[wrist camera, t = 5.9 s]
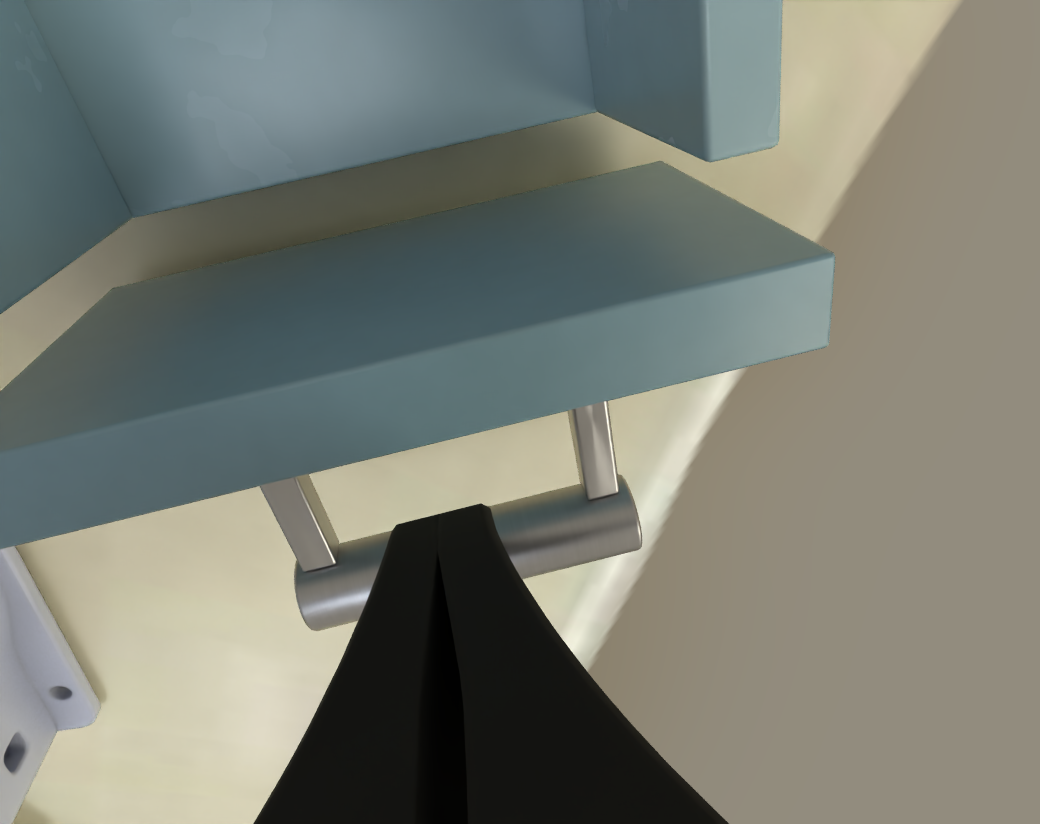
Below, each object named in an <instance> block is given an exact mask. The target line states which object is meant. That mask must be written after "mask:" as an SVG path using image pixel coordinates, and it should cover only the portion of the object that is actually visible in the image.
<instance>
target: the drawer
mask: <svg viewBox="0 0 1040 824" xmlns="http://www.w3.org/2000/svg"><path fill="white" fill-rule="evenodd" d="M781 39H782V0H0V314H1V313H3V312H4V311H6V310H7V309H8V308H10V307H11V306H12V305H14V304H15V303H17V302H18V301H19V300H21V299H22V298H23V297H25V296H26V295H28V294H29V293H30V292H32V291H33V290H34V289H36V288H37V287H39V286H40V285H41V284H43V283H44V282H45V281H47V280H48V279H50V278H51V277H52V276H54V275H55V274H57V273H58V272H59V271H61V270H62V269H63V268H65V267H66V266H68V265H69V264H70V263H72V262H73V261H74V260H76V259H77V258H79V257H80V256H81V255H83V254H84V253H85V252H87V251H88V250H90V249H91V248H92V247H94V246H95V245H96V244H98V243H99V242H101V241H102V240H103V239H105V238H106V237H107V236H109V235H110V234H112V233H113V232H114V231H116V230H117V229H118V228H120V227H121V226H123V225H124V224H125V223H127V222H128V221H129V220H131V219H132V218H136V217H140V216H145V215H149V214H154V213H158V212H162V211H167V210H171V209H175V208H180V207H184V206H188V205H193V204H197V203H202V202H206V201H210V200H215V199H219V198H223V197H228V196H232V195H237V194H241V193H245V192H250V191H254V190H258V189H263V188H267V187H272V186H276V185H280V184H285V183H289V182H293V181H298V180H302V179H307V178H311V177H315V176H320V175H324V174H328V173H333V172H337V171H342V170H346V169H350V168H355V167H359V166H363V165H368V164H372V163H376V162H381V161H385V160H390V159H394V158H398V157H403V156H407V155H411V154H416V153H420V152H425V151H429V150H433V149H438V148H442V147H446V146H451V145H455V144H460V143H464V142H468V141H473V140H477V139H481V138H486V137H490V136H495V135H499V134H503V133H508V132H512V131H516V130H521V129H525V128H530V127H534V126H538V125H543V124H547V123H551V122H556V121H560V120H564V119H569V118H573V117H578V116H582V115H586V114H591V113H595V112H599V113H601V114H603V115H605V116H608V117H610V118H612V119H614V120H616V121H619V122H621V123H623V124H625V125H627V126H630V127H632V128H634V129H636V130H638V131H641V132H643V133H645V134H647V135H649V136H651V137H654V138H656V139H658V140H660V141H662V142H665V143H667V144H669V145H671V146H673V147H676V148H678V149H680V150H682V151H684V152H687V153H689V154H691V155H693V156H695V157H698V158H700V159H702V160H704V161H707V162H714V161H718V160H723V159H727V158H731V157H736V156H740V155H744V154H748V153H753V152H757V151H761V150H766V149H770V148H772V147H774V146H776V145H778V142H779V123H780V81H781ZM834 268H835V255H834V253H833V252H832V251H830V250H828V249H826V248H824V247H822V246H820V245H819V244H817V243H815V242H813V241H811V240H809V239H807V238H805V237H804V236H802V235H800V234H798V233H796V232H794V231H792V230H790V229H789V228H787V227H785V226H783V225H781V224H779V223H777V222H775V221H773V220H772V219H770V218H768V217H766V216H764V215H762V214H760V213H758V212H757V211H755V210H753V209H751V208H749V207H747V206H745V205H743V204H741V203H740V202H738V201H736V200H734V199H732V198H730V197H728V196H726V195H725V194H723V193H721V192H719V191H717V190H715V189H713V188H711V187H710V186H708V185H706V184H704V183H702V182H700V181H698V180H696V179H694V178H693V177H691V176H689V175H687V174H685V173H683V172H681V171H679V170H678V169H676V168H674V167H672V166H670V165H668V164H666V163H664V162H662V161H658V162H654V163H650V164H645V165H641V166H637V167H632V168H628V169H624V170H619V171H615V172H611V173H606V174H602V175H598V176H594V177H589V178H585V179H581V180H576V181H572V182H568V183H563V184H559V185H555V186H550V187H546V188H542V189H538V190H533V191H529V192H525V193H520V194H516V195H512V196H507V197H503V198H499V199H494V200H490V201H486V202H482V203H477V204H473V205H469V206H464V207H460V208H456V209H451V210H447V211H443V212H439V213H434V214H430V215H426V216H421V217H417V218H413V219H408V220H404V221H400V222H395V223H391V224H387V225H383V226H378V227H374V228H370V229H365V230H361V231H357V232H352V233H348V234H344V235H339V236H335V237H331V238H327V239H322V240H318V241H314V242H309V243H305V244H301V245H296V246H292V247H288V248H283V249H279V250H275V251H271V252H266V253H262V254H258V255H253V256H249V257H245V258H240V259H236V260H232V261H227V262H223V263H219V264H215V265H210V266H206V267H202V268H197V269H193V270H189V271H184V272H180V273H176V274H171V275H167V276H163V277H159V278H154V279H150V280H146V281H141V282H137V283H133V284H128V285H124V286H120V287H116V288H113V289H111V290H110V291H109V292H108V293H107V294H106V295H105V296H104V297H103V298H101V299H100V300H99V301H98V302H97V303H96V304H95V305H94V306H93V307H92V308H91V309H89V310H88V311H87V312H86V313H85V314H84V315H83V316H82V317H81V318H80V319H79V320H78V321H76V322H75V323H74V324H73V325H72V326H71V327H70V328H69V329H68V330H67V331H66V332H64V333H63V334H62V335H61V336H60V337H59V338H58V339H57V340H56V341H55V342H54V343H52V344H51V345H50V346H49V347H48V348H47V349H46V350H45V351H44V352H43V353H42V354H40V355H39V356H38V357H37V358H36V359H35V360H34V361H33V362H32V363H31V364H30V365H29V366H27V367H26V368H25V369H24V370H23V371H22V372H21V373H20V374H19V375H18V376H17V377H15V378H14V379H13V380H12V381H11V382H10V383H9V384H8V385H7V386H6V387H5V388H3V389H2V390H1V391H0V549H4V548H8V547H12V546H16V545H20V544H24V543H29V542H33V541H37V540H41V539H45V538H49V537H53V536H57V535H61V534H65V533H69V532H74V531H78V530H82V529H86V528H90V527H94V526H98V525H102V524H106V523H110V522H114V521H119V520H123V519H127V518H131V517H135V516H139V515H143V514H147V513H151V512H155V511H159V510H163V509H168V508H172V507H176V506H180V505H184V504H188V503H192V502H196V501H200V500H204V499H208V498H213V497H217V496H221V495H225V494H229V493H233V492H237V491H241V490H245V489H249V488H253V487H257V486H260V488H261V490H262V492H263V494H264V496H265V498H266V500H267V502H268V504H269V506H270V507H271V509H272V511H273V513H274V515H275V517H276V519H277V521H278V523H279V525H280V527H281V529H282V531H283V533H284V535H285V537H286V539H287V541H288V543H289V545H290V547H291V549H292V551H293V552H294V554H295V556H296V558H297V561H296V564H295V572H294V584H295V593H296V598H297V603H298V606H299V609H300V612H301V615H302V617H303V619H304V621H305V623H306V625H307V626H308V627H309V628H310V629H311V630H314V631H320V630H324V629H328V628H332V627H336V626H339V625H343V624H347V623H351V622H355V621H358V620H359V618H360V616H361V613H362V611H363V609H364V606H365V604H366V601H367V599H368V596H369V593H370V591H371V588H372V586H373V583H374V581H375V578H376V575H377V573H378V570H379V567H380V564H381V562H382V559H383V556H384V553H385V550H386V547H387V544H388V541H389V538H390V535H391V532H392V531H393V530H392V531H388V532H384V533H380V534H376V535H372V536H368V537H364V538H360V539H356V540H352V541H348V542H344V543H340V544H339V540H338V538H337V536H336V534H335V531H334V529H333V527H332V525H331V523H330V520H329V518H328V516H327V514H326V512H325V509H324V507H323V505H322V503H321V501H320V498H319V496H318V494H317V492H316V489H315V487H314V485H313V483H312V481H311V478H310V476H309V474H311V473H315V472H319V471H323V470H327V469H331V468H335V467H339V466H343V465H347V464H351V463H356V462H360V461H364V460H368V459H372V458H376V457H380V456H384V455H388V454H392V453H396V452H401V451H405V450H409V449H413V448H417V447H421V446H425V445H429V444H433V443H437V442H441V441H445V440H450V439H454V438H458V437H462V436H466V435H470V434H474V433H478V432H482V431H486V430H490V429H495V428H499V427H503V426H507V425H511V424H515V423H519V422H523V421H527V420H531V419H535V418H540V417H544V416H548V415H552V414H556V413H560V412H564V411H568V416H569V422H570V428H571V433H572V439H573V445H574V451H575V456H576V462H577V468H578V473H579V479H580V483H581V484H577V485H573V486H569V487H565V488H561V489H557V490H553V491H549V492H545V493H541V494H537V495H533V496H529V497H525V498H521V499H517V500H513V501H509V502H505V503H501V504H497V505H493V506H489V508H491V512H492V516H493V519H494V523H495V526H496V530H497V532H498V534H499V537H500V539H501V541H502V543H503V545H504V548H505V550H506V551H507V553H508V555H509V557H510V559H511V561H512V563H513V565H514V567H515V568H516V570H517V572H518V573H519V575H520V577H521V579H525V578H529V577H533V576H537V575H541V574H545V573H549V572H553V571H557V570H561V569H565V568H569V567H572V566H576V565H580V564H584V563H588V562H592V561H596V560H600V559H604V558H608V557H612V556H616V555H620V554H624V553H628V552H632V551H636V550H639V549H640V548H641V547H642V533H641V526H640V521H639V517H638V513H637V509H636V506H635V502H634V499H633V496H632V494H631V491H630V489H629V486H628V484H627V482H626V481H625V479H624V478H623V476H622V475H618V474H617V467H616V460H615V452H614V445H613V437H612V430H611V422H610V415H609V408H608V401H609V400H613V399H617V398H621V397H625V396H629V395H634V394H638V393H642V392H646V391H650V390H654V389H658V388H662V387H666V386H670V385H674V384H678V383H683V382H687V381H691V380H695V379H699V378H703V377H707V376H711V375H715V374H719V373H723V372H728V371H732V370H736V369H740V368H744V367H748V366H752V365H756V364H760V363H764V362H768V361H772V360H777V359H781V358H785V357H789V356H793V355H797V354H800V353H805V352H809V351H813V350H817V349H822V348H825V347H827V346H828V344H829V336H830V322H831V309H832V295H833V282H834Z"/></svg>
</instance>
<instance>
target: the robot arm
mask: <svg viewBox="0 0 1040 824" xmlns="http://www.w3.org/2000/svg"><path fill="white" fill-rule="evenodd" d="M100 709H101V705H100V702H99V700H98V698H97V696H96V694H95V693H94V691H93V689H92V687H91V685H90V683H89V682H88V680H87V678H86V676H85V674H84V672H83V670H82V669H81V667H80V665H79V663H78V661H77V659H76V658H75V656H74V654H73V652H72V650H71V648H70V647H69V645H68V643H67V641H66V639H65V637H64V635H63V634H62V632H61V630H60V628H59V626H58V624H57V623H56V621H55V619H54V617H53V615H52V613H51V611H50V610H49V608H48V606H47V604H46V602H45V600H44V599H43V597H42V595H41V593H40V591H39V589H38V587H37V586H36V584H35V582H34V580H33V578H32V576H31V575H30V573H29V571H28V569H27V567H26V565H25V564H24V562H23V560H22V558H21V556H20V554H19V552H18V551H17V549H16V547H15V546H12V547H8V548H4V549H0V824H12V823H13V821H14V819H15V817H16V815H17V813H18V811H19V809H20V807H21V805H22V803H23V801H24V799H25V797H26V794H27V792H28V790H29V788H30V786H31V784H32V782H33V780H34V778H35V776H36V774H37V772H38V770H39V768H40V766H41V764H42V762H43V760H44V757H45V755H46V753H47V751H48V749H49V747H50V745H51V743H52V741H53V739H54V737H55V735H56V733H57V731H61V730H68V729H75V728H82V727H85V726H89V725H90V724H92V723H93V722H95V720H96V718H97V715H98V713H99V711H100ZM254 824H728V822H727V821H725V819H723V818H722V817H721V816H720V815H719V814H718V813H717V812H716V811H715V810H714V809H713V808H712V807H711V806H710V805H709V804H708V803H707V802H706V801H705V800H704V799H703V798H702V797H701V796H700V795H699V794H698V793H697V792H696V791H695V790H694V789H693V788H692V787H691V786H690V785H689V784H688V783H687V782H686V781H685V780H684V779H683V778H682V777H681V776H680V775H679V774H678V773H677V772H676V771H675V770H674V769H673V768H672V767H671V766H670V765H669V764H668V763H667V762H666V761H665V760H664V759H663V758H662V757H661V756H660V755H659V753H658V752H657V751H656V750H655V749H654V748H653V747H652V746H651V745H650V744H649V743H648V741H647V740H646V739H645V738H644V737H643V736H642V735H641V734H640V733H639V732H638V731H637V730H636V729H635V727H634V726H633V725H632V724H631V723H630V722H629V721H628V720H627V718H626V717H625V716H624V715H623V714H622V713H621V712H620V711H619V709H618V708H617V707H616V706H615V705H614V704H613V703H612V701H611V700H610V699H609V698H608V697H607V695H606V694H605V693H604V692H603V691H602V689H601V688H600V687H599V686H598V685H597V683H596V682H595V681H594V680H593V678H592V677H591V676H590V675H589V673H588V672H587V671H586V670H585V668H584V667H583V666H582V665H581V663H580V662H579V661H578V659H577V658H576V657H575V655H574V654H573V653H572V651H571V650H570V649H569V648H568V646H567V645H566V644H565V642H564V641H563V640H562V638H561V637H560V636H559V634H558V633H557V631H556V630H555V629H554V627H553V626H552V624H551V623H550V621H549V620H548V619H547V617H546V616H545V614H544V613H543V611H542V610H541V608H540V607H539V605H538V604H537V602H536V600H535V599H534V597H533V596H532V594H531V593H530V591H529V590H528V588H527V587H526V585H525V583H524V582H523V580H522V579H521V577H520V575H519V573H518V572H517V570H516V568H515V567H514V565H513V563H512V561H511V559H510V557H509V555H508V553H507V551H506V550H505V548H504V545H503V543H502V541H501V539H500V537H499V534H498V532H497V530H496V526H495V523H494V519H493V516H492V512H491V508H489V507H487V506H485V505H483V504H477V505H473V506H469V507H465V508H461V509H457V510H453V511H449V512H445V513H441V514H437V515H433V516H429V517H425V518H421V519H417V520H413V521H409V522H406V523H402V524H398V525H396V526H395V528H394V529H393V531H392V532H391V535H390V538H389V541H388V544H387V547H386V550H385V553H384V556H383V559H382V562H381V564H380V567H379V570H378V573H377V575H376V578H375V581H374V583H373V586H372V588H371V591H370V593H369V596H368V599H367V601H366V604H365V606H364V609H363V611H362V613H361V616H360V618H359V620H358V623H357V625H356V627H355V630H354V632H353V634H352V637H351V639H350V641H349V644H348V646H347V648H346V651H345V653H344V655H343V657H342V659H341V662H340V664H339V666H338V668H337V670H336V672H335V674H334V676H333V678H332V680H331V682H330V684H329V686H328V688H327V690H326V692H325V694H324V697H323V699H322V701H321V703H320V705H319V707H318V709H317V711H316V713H315V715H314V717H313V719H312V721H311V723H310V725H309V727H308V729H307V731H306V732H305V734H304V736H303V738H302V740H301V742H300V744H299V745H298V747H297V749H296V751H295V753H294V755H293V757H292V758H291V760H290V762H289V764H288V766H287V767H286V769H285V771H284V773H283V774H282V776H281V778H280V780H279V781H278V783H277V785H276V786H275V788H274V790H273V792H272V793H271V795H270V797H269V798H268V800H267V802H266V803H265V805H264V807H263V809H262V810H261V812H260V814H259V815H258V817H257V819H256V820H255V822H254Z"/></svg>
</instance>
